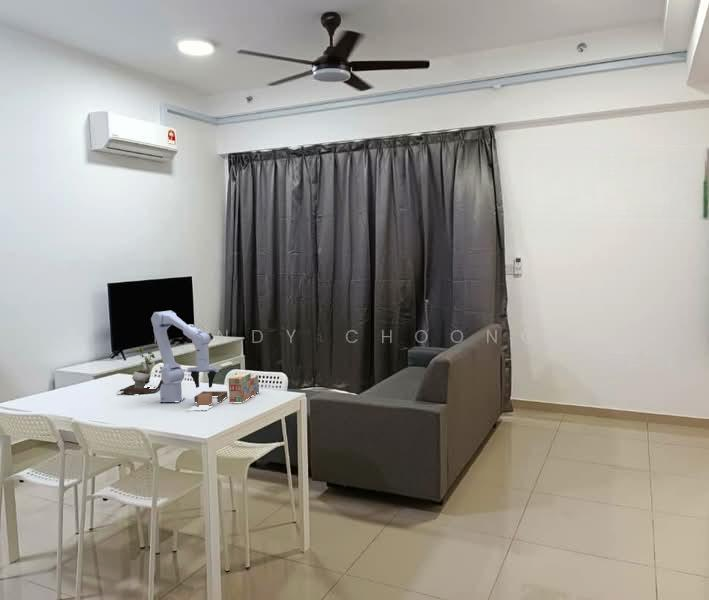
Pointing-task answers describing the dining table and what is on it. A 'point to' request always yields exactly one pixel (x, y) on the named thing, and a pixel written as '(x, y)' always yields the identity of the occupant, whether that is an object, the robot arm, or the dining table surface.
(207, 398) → the cube
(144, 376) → the potted plant
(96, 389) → the dining table surface
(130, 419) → the dining table surface
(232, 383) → the stack of blocks
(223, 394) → the cubby
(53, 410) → the dining table surface
